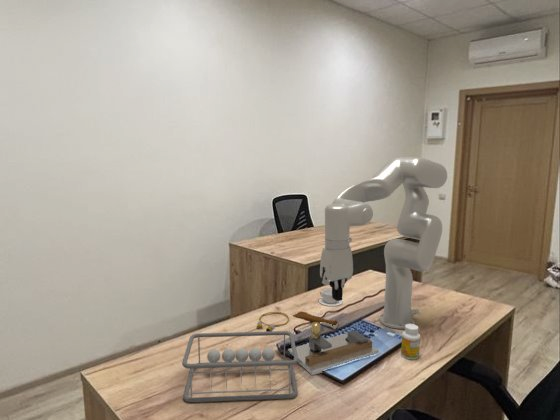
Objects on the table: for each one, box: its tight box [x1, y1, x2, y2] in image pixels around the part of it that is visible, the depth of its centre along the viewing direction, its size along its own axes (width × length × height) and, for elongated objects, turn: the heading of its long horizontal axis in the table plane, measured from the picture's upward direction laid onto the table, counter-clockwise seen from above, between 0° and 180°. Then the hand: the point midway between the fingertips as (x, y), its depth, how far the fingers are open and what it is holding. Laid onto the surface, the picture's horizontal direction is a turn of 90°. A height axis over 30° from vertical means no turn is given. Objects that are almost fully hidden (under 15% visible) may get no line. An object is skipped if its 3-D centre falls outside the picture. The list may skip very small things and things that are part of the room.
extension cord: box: [256, 311, 290, 332], centre depth 150 cm, size 12×16×2 cm
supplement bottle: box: [400, 323, 421, 360], centre depth 126 cm, size 5×5×10 cm
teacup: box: [318, 288, 343, 307], centre depth 169 cm, size 10×10×5 cm
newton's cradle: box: [181, 330, 299, 403], centre depth 111 cm, size 30×10×18 cm
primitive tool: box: [292, 311, 339, 326], centre depth 151 cm, size 19×6×4 cm, turn 49°
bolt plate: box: [287, 330, 380, 376], centre depth 127 cm, size 25×14×4 cm, turn 119°
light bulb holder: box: [308, 322, 332, 351], centre depth 124 cm, size 3×8×8 cm, turn 28°
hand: (337, 299), depth 128 cm, fingers closed
